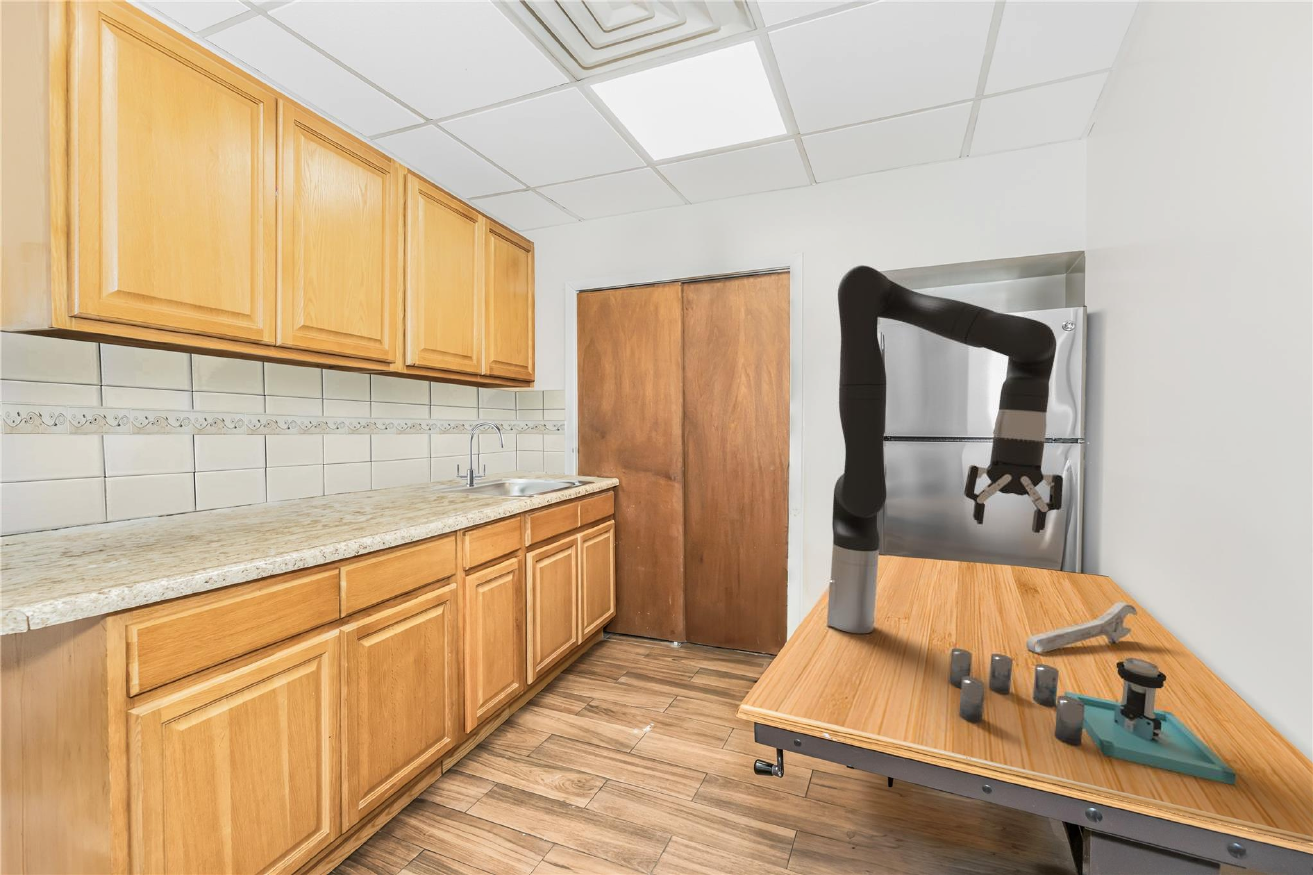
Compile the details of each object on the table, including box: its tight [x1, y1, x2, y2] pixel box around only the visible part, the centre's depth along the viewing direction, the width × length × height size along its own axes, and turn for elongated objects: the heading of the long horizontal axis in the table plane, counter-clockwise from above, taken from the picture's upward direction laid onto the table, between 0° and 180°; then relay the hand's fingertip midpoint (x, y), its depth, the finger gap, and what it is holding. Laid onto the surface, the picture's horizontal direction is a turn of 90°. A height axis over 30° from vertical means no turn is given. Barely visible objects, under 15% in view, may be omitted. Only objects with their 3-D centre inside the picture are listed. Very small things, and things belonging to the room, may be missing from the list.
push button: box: [1114, 657, 1171, 744], centre depth 76 cm, size 7×5×10 cm
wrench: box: [1025, 601, 1138, 654], centre depth 109 cm, size 8×2×30 cm
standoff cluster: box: [948, 647, 1085, 747], centre depth 83 cm, size 15×15×6 cm
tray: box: [1064, 691, 1237, 786], centre depth 76 cm, size 13×15×2 cm
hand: (1007, 527), depth 94 cm, fingers open, 8 cm apart
